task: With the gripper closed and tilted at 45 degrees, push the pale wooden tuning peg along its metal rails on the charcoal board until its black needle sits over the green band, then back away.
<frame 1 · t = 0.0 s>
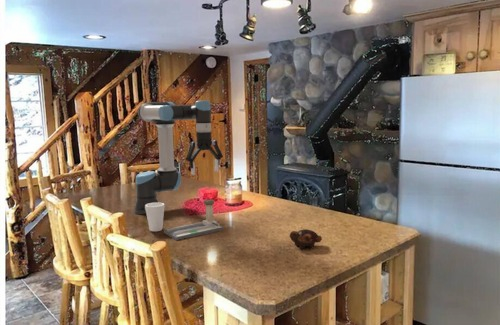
hand: (205, 173, 208), 28 cm above the kitchen island, tool pointing down, fingers open, 13 cm apart
decorative turtle: (305, 247, 179), on the kitchen island
tuning slider: (211, 213, 205), point 8 cm above the kitchen island, slide at 0.0 cm
foam cup: (156, 229, 208), on the kitchen island
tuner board: (192, 231, 203), on the kitchen island
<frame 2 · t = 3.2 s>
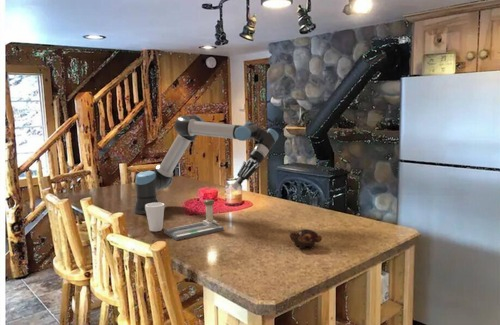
hand: (234, 188, 215), 19 cm above the kitchen island, tool tilted 45°, fingers closed
nothing on the kitchen island moved.
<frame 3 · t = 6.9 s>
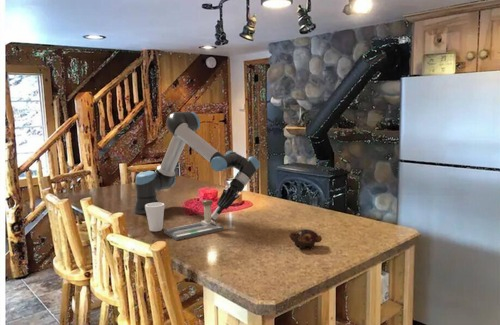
hand: (213, 218, 209), 5 cm above the kitchen island, tool tilted 45°, fingers closed
tuning slider: (210, 214, 205), point 8 cm above the kitchen island, slide at 1.0 cm, touching gripper
everything else where it was.
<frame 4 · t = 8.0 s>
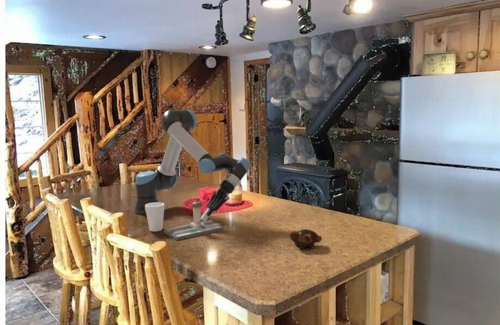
hand: (202, 220, 206), 5 cm above the kitchen island, tool tilted 45°, fingers closed
tuning slider: (199, 216, 201), point 8 cm above the kitchen island, slide at 7.1 cm, touching gripper
everything else where it was.
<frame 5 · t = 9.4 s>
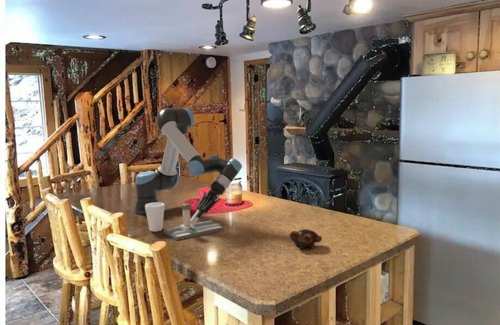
hand: (192, 222, 202), 5 cm above the kitchen island, tool tilted 45°, fingers closed
tuning slider: (188, 218, 198), point 8 cm above the kitchen island, slide at 12.8 cm, touching gripper
everything else where it was.
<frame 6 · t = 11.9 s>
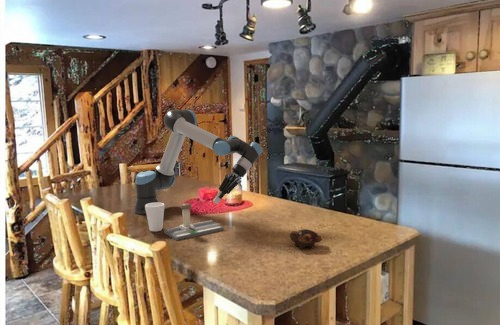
hand: (214, 202, 209), 13 cm above the kitchen island, tool tilted 45°, fingers closed
tuning slider: (188, 218, 198), point 8 cm above the kitchen island, slide at 12.9 cm
everything else where it was.
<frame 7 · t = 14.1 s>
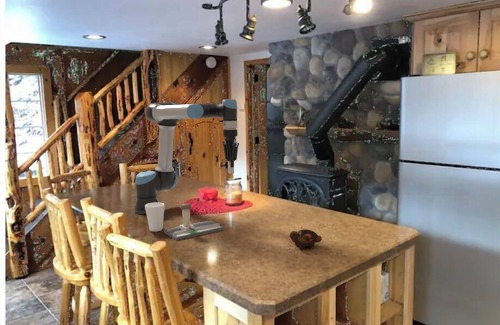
hand: (231, 173, 217), 26 cm above the kitchen island, tool pointing down, fingers closed
nothing on the kitchen island moved.
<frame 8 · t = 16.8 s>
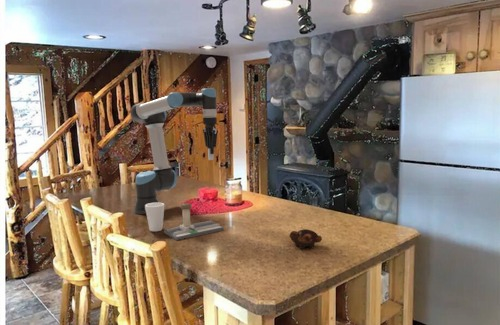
hand: (211, 159, 225), 32 cm above the kitchen island, tool pointing down, fingers closed
nothing on the kitchen island moved.
at the end: tuning slider slide at 12.9 cm; foam cup moved 0.2 cm from its start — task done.
